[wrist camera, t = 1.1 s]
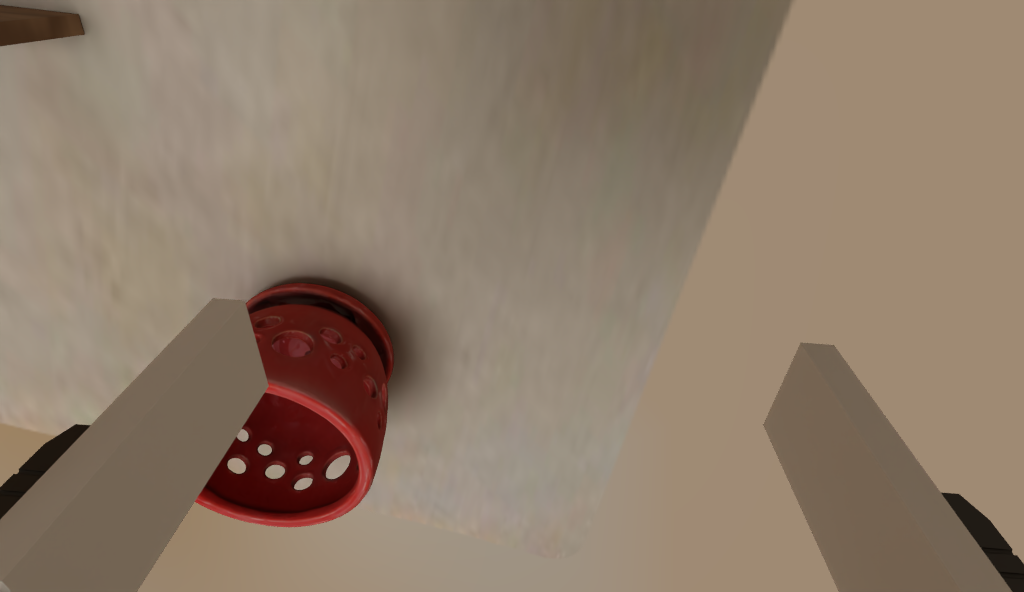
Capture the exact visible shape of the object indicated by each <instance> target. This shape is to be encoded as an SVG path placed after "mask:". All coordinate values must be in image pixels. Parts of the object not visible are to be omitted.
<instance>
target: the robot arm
mask: <svg viewBox="0 0 1024 592" xmlns="http://www.w3.org/2000/svg"><path fill="white" fill-rule="evenodd" d="M268 386H269V385H268V381H267V378H266V374H265V371H264V367H263V364H262V360H261V357H260V353H259V349H258V346H257V342H256V339H255V335H254V332H253V328H252V325H251V321H250V317H249V314H248V310H247V307H246V303H245V301H242V300H229V299H215V298H213V299H212V300H211V301H210V302H209V303H208V304H207V305H206V306H205V307H204V308H203V309H202V310H201V311H200V312H199V313H198V315H197V316H196V317H195V318H194V319H193V320H192V321H191V322H190V323H189V324H188V325H187V326H186V327H185V328H184V329H183V330H182V331H181V332H180V333H179V334H178V335H177V336H176V337H175V338H174V339H173V341H172V342H171V343H170V344H169V345H168V346H167V347H166V348H165V349H164V350H163V351H162V352H161V353H160V354H159V355H158V356H157V357H156V358H155V359H154V360H153V361H152V362H151V363H150V364H149V365H148V366H147V368H146V369H145V370H144V371H143V372H142V373H141V374H140V375H139V376H138V377H137V378H136V379H135V380H134V381H133V382H132V383H131V384H130V385H129V386H128V387H127V388H126V389H125V390H124V391H123V392H122V394H121V395H120V396H119V397H118V398H117V399H116V400H115V401H114V402H113V403H112V404H111V405H110V406H109V407H108V408H107V409H106V410H105V411H104V412H103V413H102V414H101V415H100V416H99V417H98V418H97V419H96V421H95V422H94V423H93V424H92V425H78V424H76V425H74V426H72V427H71V428H69V429H68V430H66V431H64V432H63V433H61V434H60V435H58V436H57V437H55V438H53V439H52V440H50V441H49V442H47V443H45V444H44V445H43V446H42V447H41V448H40V449H39V450H38V451H37V452H36V453H35V454H34V455H33V456H32V457H31V458H30V459H29V460H28V461H27V462H26V463H25V464H24V465H23V466H22V467H21V468H20V469H19V473H18V474H13V475H12V476H11V477H10V478H9V479H8V480H7V481H6V482H5V483H4V484H3V485H2V486H1V487H0V592H137V591H138V589H139V588H140V586H141V585H142V583H143V581H144V580H145V578H146V577H147V575H148V574H149V572H150V571H151V569H152V567H153V566H154V564H155V563H156V561H157V560H158V558H159V556H160V554H161V553H162V552H163V550H164V549H165V547H166V546H167V544H168V542H169V541H170V539H171V538H172V536H173V535H174V533H175V532H176V530H177V528H178V527H179V525H180V523H181V522H182V521H183V519H184V517H185V516H186V514H187V513H188V511H189V510H190V508H191V507H192V505H193V503H194V502H195V500H196V499H197V497H198V496H199V494H200V493H201V491H202V489H203V488H204V486H205V485H206V483H207V482H208V480H209V478H210V477H211V475H212V474H213V472H214V471H215V469H216V468H217V466H218V464H219V463H220V461H221V460H222V458H223V457H224V455H225V453H226V452H227V450H228V449H229V447H230V446H231V444H232V443H233V441H234V439H235V438H236V436H237V435H238V433H239V432H240V430H241V429H242V427H243V425H244V424H245V422H246V421H247V419H248V418H249V416H250V414H251V413H252V411H253V410H254V408H255V407H256V405H257V404H258V402H259V400H260V399H261V397H262V396H263V394H264V393H265V391H266V390H267V388H268ZM763 425H764V427H765V430H766V432H767V434H768V436H769V439H770V441H771V443H772V445H773V448H774V450H775V452H776V454H777V456H778V459H779V461H780V463H781V465H782V467H783V469H784V472H785V474H786V476H787V478H788V481H789V483H790V485H791V487H792V489H793V492H794V494H795V496H796V498H797V500H798V502H799V505H800V507H801V509H802V511H803V514H804V516H805V518H806V520H807V523H808V525H809V527H810V529H811V531H812V534H813V536H814V538H815V540H816V542H817V545H818V547H819V549H820V551H821V553H822V556H823V558H824V560H825V562H826V564H827V567H828V569H829V571H830V573H831V575H832V577H833V580H834V582H835V584H836V586H837V589H838V591H839V592H1024V564H1023V563H1022V561H1021V560H1020V559H1019V557H1018V556H1015V555H1013V553H1012V548H1011V547H1010V546H1009V544H1008V543H1007V542H1006V541H1005V540H1004V538H1003V537H1002V536H1001V534H1000V533H999V532H998V530H997V529H996V528H995V527H994V525H993V524H992V523H991V521H990V520H989V519H988V518H987V517H985V516H984V515H983V514H982V513H981V512H979V511H978V510H977V509H976V508H975V507H974V506H972V505H971V504H970V503H969V502H968V501H966V500H965V499H964V498H963V497H962V496H961V495H959V494H951V493H941V492H940V491H939V490H938V488H937V487H936V485H935V484H934V483H933V481H932V480H931V479H930V477H929V476H928V474H927V473H926V472H925V470H924V469H923V468H922V466H921V465H920V463H919V462H918V461H917V460H916V458H915V457H914V455H913V454H912V452H911V451H910V450H909V448H908V447H907V446H906V444H905V443H904V441H903V440H902V439H901V437H900V436H899V434H898V433H897V432H896V430H895V429H894V427H893V426H892V425H891V423H890V422H889V421H888V419H887V418H886V416H885V415H884V414H883V412H882V411H881V410H880V408H879V407H878V405H877V404H876V403H875V401H874V400H873V399H872V397H871V396H870V394H869V393H868V392H867V390H866V389H865V387H864V386H863V385H862V383H861V382H860V380H859V379H858V378H857V377H856V375H855V374H854V372H853V371H852V369H851V368H850V367H849V365H848V364H847V363H846V361H845V360H844V359H843V357H842V356H841V354H840V353H839V351H838V350H837V349H836V347H835V346H834V345H824V344H811V343H800V346H799V348H798V350H797V352H796V354H795V356H794V359H793V361H792V363H791V365H790V368H789V370H788V372H787V374H786V376H785V378H784V381H783V383H782V385H781V387H780V390H779V391H778V394H777V396H776V398H775V400H774V402H773V405H772V407H771V409H770V411H769V413H768V416H767V418H766V420H765V422H764V424H763Z"/></svg>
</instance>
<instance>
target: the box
mask: <svg viewBox="0 0 1024 592" xmlns="http://www.w3.org/2000/svg"><path fill="white" fill-rule="evenodd" d="M77 35H84V31H83V28H82V24H81V21H80V18H79V14H71V13H63V12H54V11H46V10H38V9H29V8H21V7H12V6H4V5H0V46H5V45H12V44H20V43H27V42H34V41H41V40H48V39H55V38H63V37H70V36H77Z"/></svg>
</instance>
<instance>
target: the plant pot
mask: <svg viewBox="0 0 1024 592" xmlns="http://www.w3.org/2000/svg"><path fill="white" fill-rule="evenodd" d="M246 307H247V310H248V314H249V317H250V321H251V325H252V328H253V332H254V335H255V339H256V342H257V346H258V349H259V353H260V357H261V360H262V364H263V367H264V371H265V374H266V378H267V381H268V385H269V386H268V388H267V390H266V391H265V393H264V394H263V396H262V397H261V399H260V400H259V402H258V404H257V405H256V407H255V408H254V410H253V411H252V413H251V414H250V416H249V418H248V419H247V421H246V422H245V424H244V425H243V427H242V429H244V430H246V431H247V432H248V435H249V438H248V440H247V441H245V442H242V441H240V440H239V439H238V438H237V437H236V438H235V439H234V441H233V443H232V444H231V446H230V447H229V449H228V450H227V452H226V453H225V455H224V457H223V458H222V460H221V461H220V463H219V464H218V466H217V468H216V469H215V471H214V472H213V474H212V475H211V477H210V478H209V480H208V482H207V483H206V485H205V486H204V488H203V489H202V491H201V493H200V494H199V496H198V497H197V499H196V500H195V502H196V503H198V504H200V505H202V506H204V507H206V508H208V509H210V510H213V511H215V512H217V513H220V514H222V515H225V516H228V517H231V518H234V519H238V520H241V521H246V522H249V523H255V524H261V525H267V526H277V527H301V526H309V525H315V524H320V523H324V522H327V521H330V520H333V519H336V518H338V517H340V516H342V515H344V514H346V513H348V512H349V511H351V510H352V509H353V508H354V507H356V506H357V505H358V504H359V503H360V502H361V500H362V499H363V498H364V497H365V495H366V494H367V492H368V491H369V489H370V487H371V485H372V482H373V479H374V476H375V473H376V470H377V467H378V463H379V459H380V456H381V451H382V446H383V440H384V436H385V431H386V423H387V410H388V389H387V383H388V381H389V379H390V377H391V374H392V370H393V364H394V354H393V348H392V343H391V340H390V338H389V335H388V333H387V331H386V329H385V328H384V326H383V324H382V323H381V322H380V320H379V319H378V318H377V317H376V316H375V315H374V314H373V313H372V312H371V311H370V310H369V309H368V308H367V307H366V306H364V305H363V304H362V303H361V302H359V301H358V300H356V299H354V298H353V297H351V296H349V295H347V294H345V293H343V292H341V291H338V290H336V289H333V288H329V287H326V286H321V285H316V284H306V283H292V284H285V285H280V286H276V287H273V288H270V289H267V290H265V291H263V292H261V293H259V294H258V295H256V296H254V297H253V298H251V299H250V300H249V301H248V302H247V303H246ZM261 444H268V445H270V446H271V448H272V452H271V454H270V455H267V456H263V455H261V454H260V453H259V452H258V447H259V446H260V445H261ZM307 455H309V456H312V457H313V459H312V461H311V462H310V463H309V464H307V465H301V464H299V461H300V459H301V458H302V457H304V456H307ZM344 455H349V456H350V458H351V459H350V463H349V466H348V468H347V469H346V470H345V472H344V473H343V474H342V475H341V476H340V477H338V478H336V479H328V478H326V470H327V468H328V467H329V465H330V464H331V463H332V462H333V461H334V460H335V459H337V458H339V457H341V456H344ZM232 458H239V459H241V460H242V461H243V462H244V463H245V465H246V470H245V472H244V473H242V474H236V473H234V472H232V471H231V470H230V469H229V468H228V466H227V463H228V461H229V460H230V459H232ZM271 465H280V466H282V467H284V468H285V473H284V475H283V476H282V477H280V478H278V479H270V478H268V477H267V476H266V475H265V471H266V469H267V468H268V467H270V466H271ZM302 478H312V479H313V481H312V484H311V485H310V486H309V487H308V488H306V489H304V490H295V489H294V485H295V484H296V482H297V481H298V480H300V479H302Z"/></svg>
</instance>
